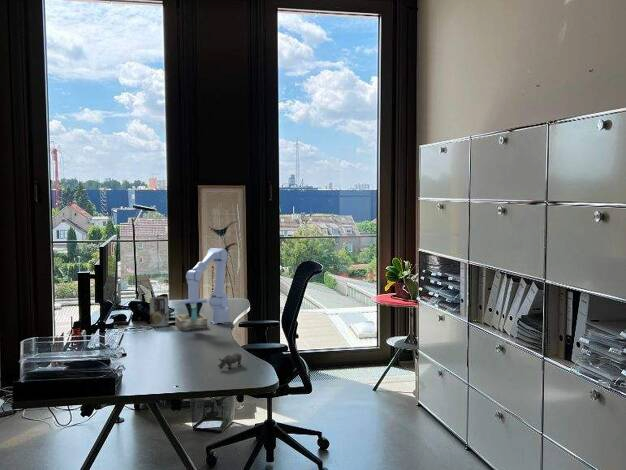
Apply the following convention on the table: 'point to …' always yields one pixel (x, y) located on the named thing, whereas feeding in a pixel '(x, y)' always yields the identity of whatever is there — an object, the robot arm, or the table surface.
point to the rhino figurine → (230, 360)
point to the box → (190, 322)
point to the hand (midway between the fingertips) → (193, 316)
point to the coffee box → (159, 311)
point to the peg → (193, 313)
